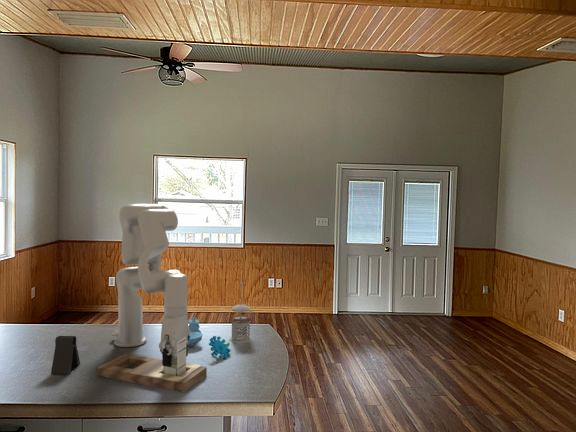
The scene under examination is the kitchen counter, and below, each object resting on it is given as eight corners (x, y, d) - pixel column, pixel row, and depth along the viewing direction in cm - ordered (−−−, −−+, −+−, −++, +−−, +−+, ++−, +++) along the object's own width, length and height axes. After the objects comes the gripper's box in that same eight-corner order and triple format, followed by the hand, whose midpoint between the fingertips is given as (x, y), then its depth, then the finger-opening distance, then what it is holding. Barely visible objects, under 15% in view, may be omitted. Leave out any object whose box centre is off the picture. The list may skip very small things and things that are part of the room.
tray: (98, 375, 154) (98, 366, 154) (125, 361, 167) (125, 352, 167) (184, 392, 143) (184, 382, 143) (206, 375, 156) (206, 366, 156)
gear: (219, 359, 167) (206, 336, 172) (209, 367, 169) (197, 345, 174) (237, 354, 177) (225, 332, 181) (228, 362, 179) (216, 341, 183)
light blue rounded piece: (200, 350, 181) (200, 328, 181) (173, 349, 181) (174, 327, 180) (207, 336, 199) (207, 315, 199) (183, 335, 199) (183, 315, 198)
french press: (224, 339, 195) (225, 281, 194) (246, 333, 203) (247, 278, 202) (237, 345, 188) (238, 285, 187) (259, 339, 196) (260, 282, 194)
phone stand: (64, 364, 163) (63, 332, 162) (80, 365, 163) (80, 332, 162) (50, 374, 154) (50, 340, 153) (68, 375, 154) (67, 340, 153)
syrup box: (186, 377, 154) (187, 336, 153) (177, 384, 148) (177, 341, 148) (172, 375, 156) (172, 333, 155) (162, 381, 150) (162, 339, 150)
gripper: (180, 303, 160) (179, 351, 161) (150, 316, 144) (150, 368, 145) (198, 306, 158) (198, 353, 159) (170, 318, 141) (170, 372, 142)
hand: (175, 360), depth 152 cm, fingers open, 9 cm apart
